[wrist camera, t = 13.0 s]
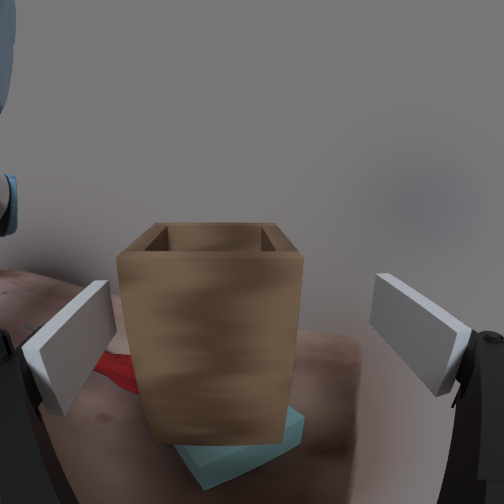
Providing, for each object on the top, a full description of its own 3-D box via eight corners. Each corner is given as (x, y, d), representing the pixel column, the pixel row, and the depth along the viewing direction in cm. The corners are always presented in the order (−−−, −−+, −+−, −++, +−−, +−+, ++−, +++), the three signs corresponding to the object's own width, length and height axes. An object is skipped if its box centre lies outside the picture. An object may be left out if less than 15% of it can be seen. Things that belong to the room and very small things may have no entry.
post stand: (158, 420, 21) (138, 325, 19) (241, 391, 26) (240, 301, 23) (204, 490, 15) (185, 394, 13) (300, 443, 19) (314, 345, 17)
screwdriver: (39, 332, 33) (33, 308, 32) (195, 394, 25) (191, 363, 24) (20, 342, 30) (13, 317, 29) (176, 418, 22) (170, 386, 21)
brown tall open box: (153, 442, 15) (116, 257, 12) (169, 369, 23) (155, 223, 20) (282, 443, 16) (303, 257, 13) (266, 369, 24) (274, 223, 21)
